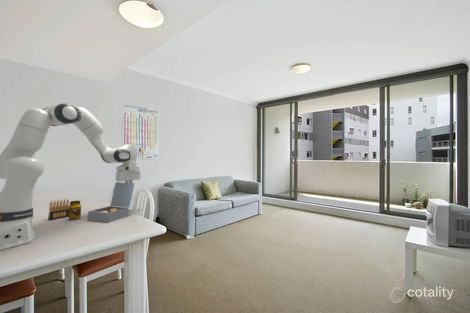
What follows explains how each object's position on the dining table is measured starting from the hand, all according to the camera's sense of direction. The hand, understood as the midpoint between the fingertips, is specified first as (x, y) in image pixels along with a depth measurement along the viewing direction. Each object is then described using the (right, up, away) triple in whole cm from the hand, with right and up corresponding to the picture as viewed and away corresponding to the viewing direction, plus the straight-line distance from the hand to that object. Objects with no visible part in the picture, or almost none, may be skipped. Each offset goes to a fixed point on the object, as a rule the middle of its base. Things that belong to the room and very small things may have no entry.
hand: (128, 186), depth 152 cm
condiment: (-25, -18, -19) cm, 36 cm away
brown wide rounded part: (-5, -17, -19) cm, 27 cm away
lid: (-2, -4, -6) cm, 7 cm away
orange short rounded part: (-4, -18, -13) cm, 22 cm away
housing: (-5, -19, -16) cm, 25 cm away
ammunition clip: (-37, -18, -15) cm, 44 cm away
